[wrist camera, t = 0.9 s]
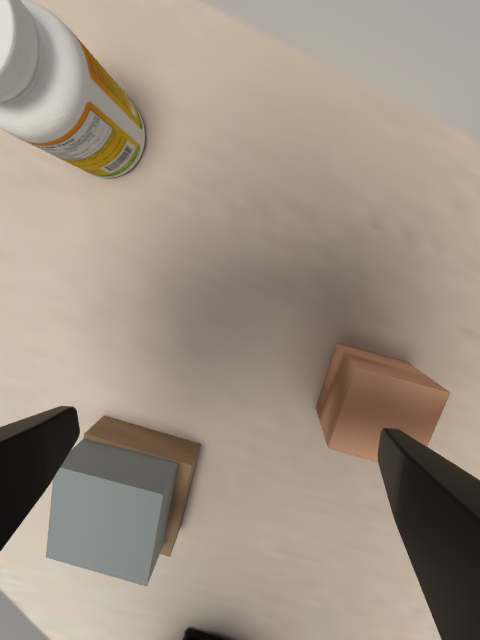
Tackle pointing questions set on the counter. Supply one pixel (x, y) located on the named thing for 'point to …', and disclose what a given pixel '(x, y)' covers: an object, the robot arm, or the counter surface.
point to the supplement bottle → (63, 94)
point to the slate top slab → (110, 510)
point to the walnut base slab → (158, 447)
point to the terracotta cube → (375, 401)
